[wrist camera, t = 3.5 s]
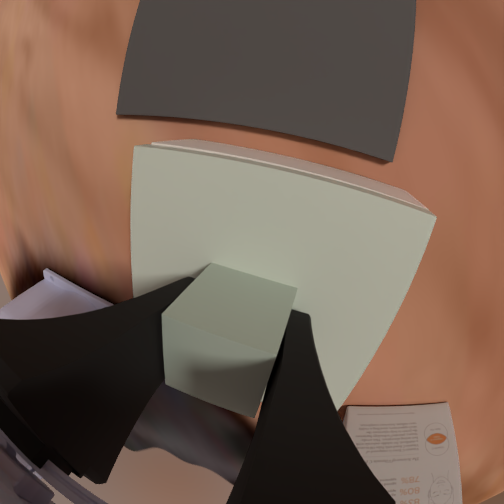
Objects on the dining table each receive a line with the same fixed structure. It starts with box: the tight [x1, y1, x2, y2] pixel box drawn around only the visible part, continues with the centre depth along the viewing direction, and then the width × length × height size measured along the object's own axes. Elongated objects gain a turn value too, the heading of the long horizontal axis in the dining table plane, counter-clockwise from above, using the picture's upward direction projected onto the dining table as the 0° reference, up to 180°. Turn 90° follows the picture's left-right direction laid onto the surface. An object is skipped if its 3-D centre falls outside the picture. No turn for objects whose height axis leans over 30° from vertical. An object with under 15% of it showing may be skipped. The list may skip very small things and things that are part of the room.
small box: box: [343, 402, 462, 504], centre depth 11 cm, size 8×6×13 cm
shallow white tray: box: [151, 139, 429, 210], centre depth 12 cm, size 10×10×4 cm
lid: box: [131, 144, 437, 418], centre depth 9 cm, size 10×10×5 cm
